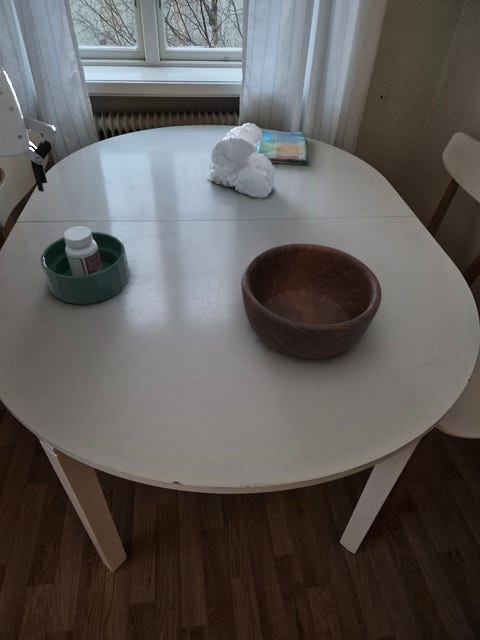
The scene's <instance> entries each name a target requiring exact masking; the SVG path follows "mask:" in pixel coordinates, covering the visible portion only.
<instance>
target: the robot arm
mask: <svg viewBox="0 0 480 640" xmlns="http://www.w3.org/2000/svg"><path fill="white" fill-rule="evenodd" d="M28 130H31V131H34V132H37V133H40V134H42V135H43V136H42V140H41V141H40V142H39V144H38V145H37V146H35V144H33V143H32V142H31V141H30V137H29V133H28ZM56 134H57V133H56V127H54V125H52V124H49V123H46V122H44V121H41V120H39V119H36V118H33V117H31V116H28V115H26V114H23V112H22V109H21V106H20V103H19V100H18V98H17V95H16V92H15V90H14V88H13V86H12V82H11V80H10V78H9V76H8V74H7V72H6V71H5V68H4V67H3V66H1V65H0V158H9V157H17V156H22V155H24V156H26V157H27V158H28V159H29V160H30V164H31V169H32V173H33V177H34V180H35V183H36V186H37V190H38V192H41V193H42V192H45V188H44V184H47V183H48V180H47V176H46V171H45V168H44V165H43V164H44V160H45V158H46V157H47V156H48V155H49V153H50V152H51V151H52V148H53V147H52V146H53V143H54V140H55V137H56Z"/></svg>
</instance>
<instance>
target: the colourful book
mask: <svg viewBox="0 0 480 640" xmlns="http://www.w3.org/2000/svg"><path fill="white" fill-rule="evenodd" d="M261 130H262V129H261ZM262 136H263V137H262V139H261V141H260V142H259V143H258V144H257V146H256V153H259V154H264V156H265V157H266V158H268V159H269V160H270V161H271V163H276V164H289V165H290V164H292V165H304V166H305V165H308V163H309V159H308V148H307V137H306V134H305V132H302V131H278V132H277V131H276V132H275V131H268V130H262Z"/></svg>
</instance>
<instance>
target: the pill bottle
mask: <svg viewBox="0 0 480 640" xmlns="http://www.w3.org/2000/svg"><path fill="white" fill-rule="evenodd" d="M91 232H92V231H91V228H88V227H87V226H84V225H83V226H82V225H81V226H80V225H78V226H72V227H70V228H68V229H67V230H65V231H64V233H63V237H64V239H65V243H66V248H65V250H66V254H67V257H68V261H69V264H70V267H71V271H72V274H73V276H84V275H89V274H94V273H97V272H99V271H102V270H103V267H102V263H101V259H100V255H99V251H98V246H97V244H96V242H95V241H94V240H93V237H92V234H91Z"/></svg>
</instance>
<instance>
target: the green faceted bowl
mask: <svg viewBox="0 0 480 640" xmlns="http://www.w3.org/2000/svg"><path fill="white" fill-rule="evenodd" d="M91 234H92V237H93V240H94V241H95V242H96V244H97V246H98V251H99V255H100V259H101V263H102V267H103V270H102V271H99V272H97V273H94V274H89V275H84V276H73V274H72V271H71V267H70V264H69V261H68V257H67V254H66V250H65V248H66V243H65V239H64V236H63V237H61V238H59V239H57V240H55V241H53V242H52V243H50V244H49V245H48V246H47V247H46V248H44V250H43V252H42V254H41V256H40V265H41V268H42V271H43V274H44V277H45V279H46V282H47V285H48V288H49V290H50V292H51V293H52V294H53V296H54V297H55V298H57V299H59V300H61V301H63V302H65V303H70V304H74V305H85V304H86V305H87V304H88V305H89V304H93V303H99V302H103V301H105V300H107V299H109V298H112V297H114V296H116V295H117V294H119V293H120V292H121V291H123V289H124V288H125V287H126V285H128V283H129V280H130V268H129V264H128V258H127V252H126V248H125V245H124V243H123V242H122V241H121V240H120V239H119V238H118V237H116V236H115V235H111V234H110V233H104V232H101V231H100V232H99V231H91Z"/></svg>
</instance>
